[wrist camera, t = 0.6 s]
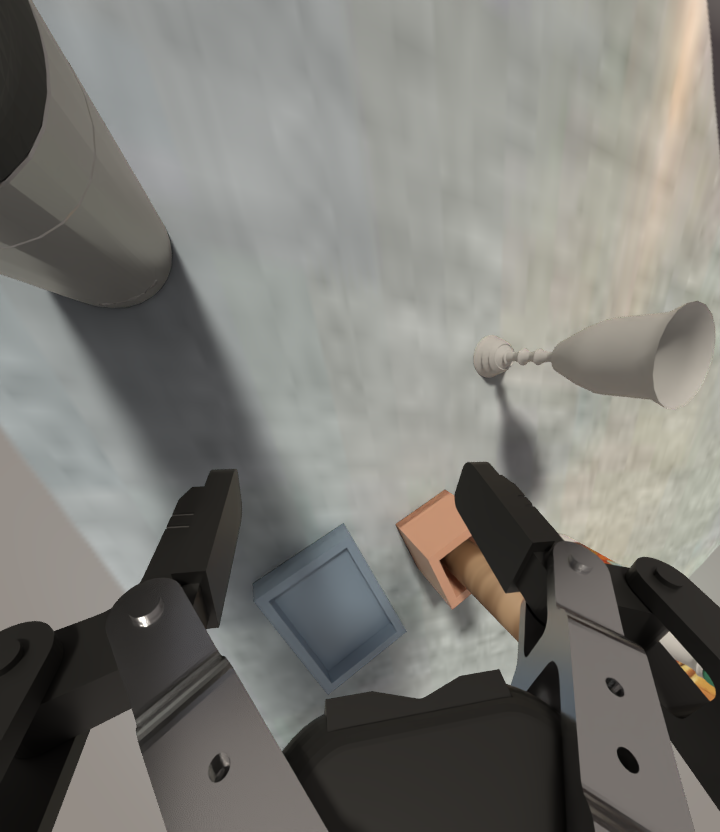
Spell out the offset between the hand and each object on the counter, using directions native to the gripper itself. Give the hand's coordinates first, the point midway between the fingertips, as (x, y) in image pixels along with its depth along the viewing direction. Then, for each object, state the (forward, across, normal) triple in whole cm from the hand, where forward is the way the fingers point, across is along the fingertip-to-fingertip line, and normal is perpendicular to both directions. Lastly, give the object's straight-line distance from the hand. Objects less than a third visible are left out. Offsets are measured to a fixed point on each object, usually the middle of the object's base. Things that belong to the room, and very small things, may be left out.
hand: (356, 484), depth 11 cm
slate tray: (+12, -2, +29) cm, 32 cm away
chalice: (+25, -21, +3) cm, 33 cm away
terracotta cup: (+17, -14, +23) cm, 32 cm away
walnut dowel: (+16, -14, +23) cm, 31 cm away
